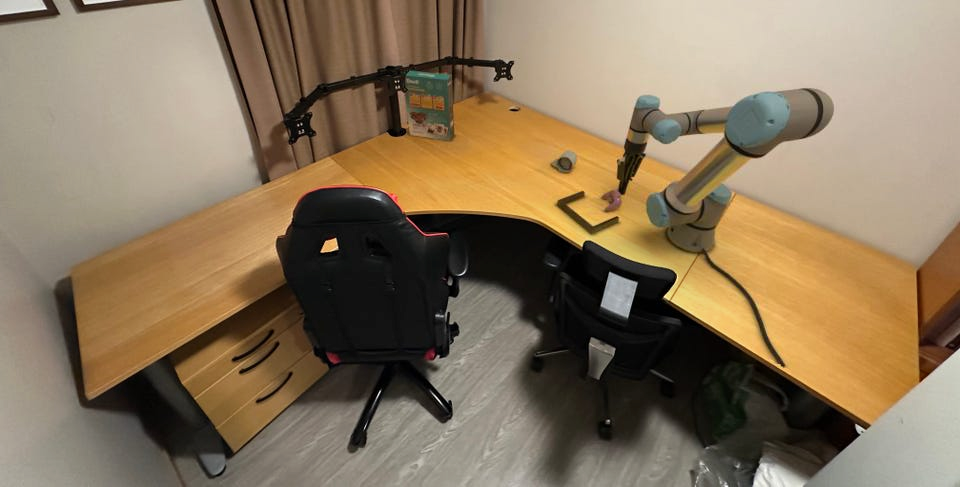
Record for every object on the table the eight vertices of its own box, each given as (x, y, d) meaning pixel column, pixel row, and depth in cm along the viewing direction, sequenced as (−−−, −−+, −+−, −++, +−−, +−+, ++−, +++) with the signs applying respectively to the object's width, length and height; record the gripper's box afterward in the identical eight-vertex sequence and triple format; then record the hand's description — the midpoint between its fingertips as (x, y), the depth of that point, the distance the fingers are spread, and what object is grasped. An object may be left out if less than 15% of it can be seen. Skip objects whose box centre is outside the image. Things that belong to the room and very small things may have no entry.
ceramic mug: (577, 165, 180) (579, 150, 175) (571, 174, 175) (573, 159, 170) (554, 160, 184) (556, 145, 179) (548, 168, 179) (550, 153, 174)
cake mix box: (454, 135, 202) (451, 75, 181) (450, 140, 197) (447, 79, 177) (414, 129, 206) (407, 70, 186) (410, 134, 202) (402, 74, 182)
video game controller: (613, 215, 156) (625, 203, 152) (604, 211, 155) (616, 198, 150) (609, 200, 163) (620, 188, 159) (600, 196, 162) (611, 183, 158)
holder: (617, 222, 150) (619, 217, 149) (591, 234, 145) (592, 229, 144) (581, 195, 163) (583, 190, 162) (556, 205, 158) (557, 200, 157)
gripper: (641, 131, 147) (626, 183, 163) (616, 139, 143) (602, 193, 159) (657, 139, 143) (639, 193, 159) (631, 148, 138) (615, 202, 154)
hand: (621, 193), depth 159 cm, fingers closed
